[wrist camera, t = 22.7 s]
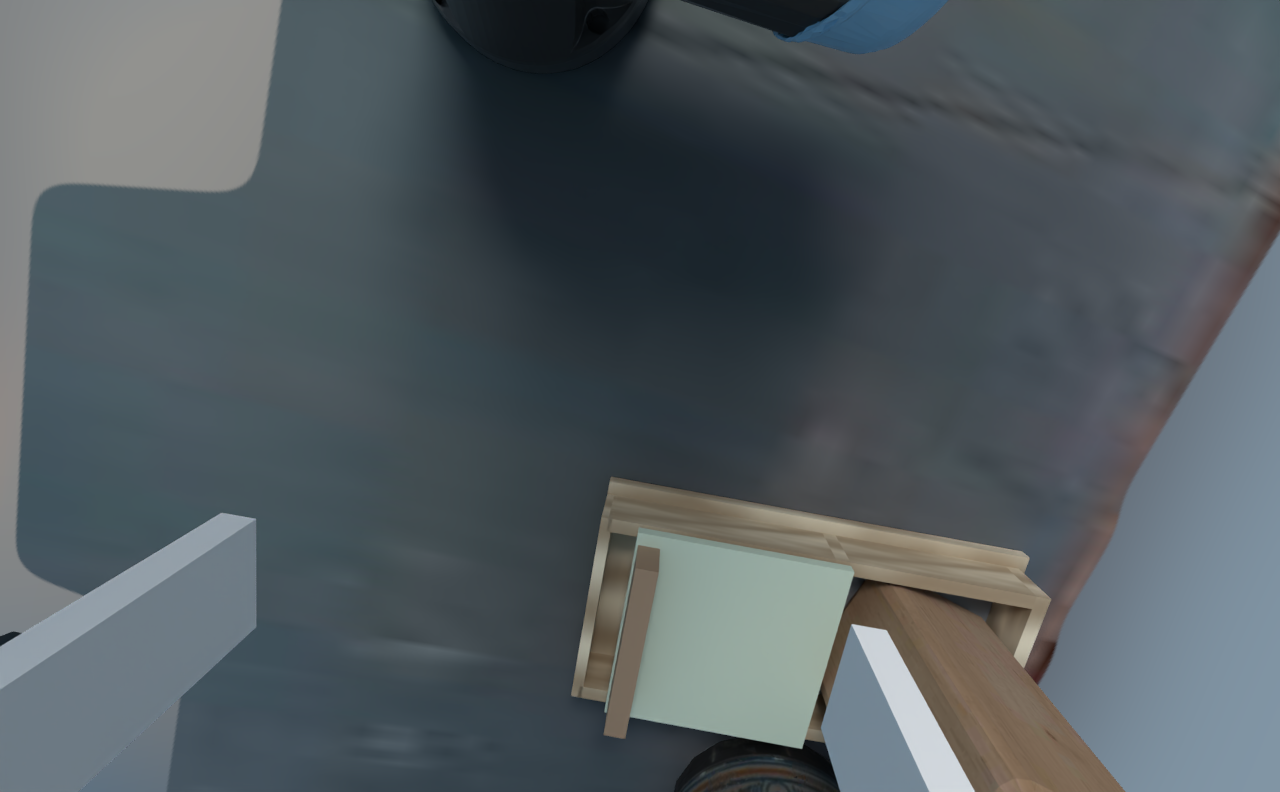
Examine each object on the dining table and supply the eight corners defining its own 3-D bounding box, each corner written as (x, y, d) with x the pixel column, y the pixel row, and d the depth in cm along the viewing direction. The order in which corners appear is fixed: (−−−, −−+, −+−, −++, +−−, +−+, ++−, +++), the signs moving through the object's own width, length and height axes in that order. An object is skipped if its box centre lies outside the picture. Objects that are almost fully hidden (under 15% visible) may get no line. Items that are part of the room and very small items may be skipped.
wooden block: (985, 614, 46) (1213, 885, 27) (910, 709, 48) (1068, 1019, 29) (874, 556, 45) (1025, 790, 26) (803, 655, 48) (893, 936, 28)
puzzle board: (611, 476, 46) (603, 503, 41) (1022, 551, 46) (1063, 587, 41) (579, 662, 50) (569, 706, 46) (954, 731, 50) (985, 783, 45)
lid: (638, 527, 41) (635, 555, 38) (850, 566, 41) (868, 597, 37) (605, 704, 45) (599, 745, 41) (799, 740, 45) (811, 784, 41)
